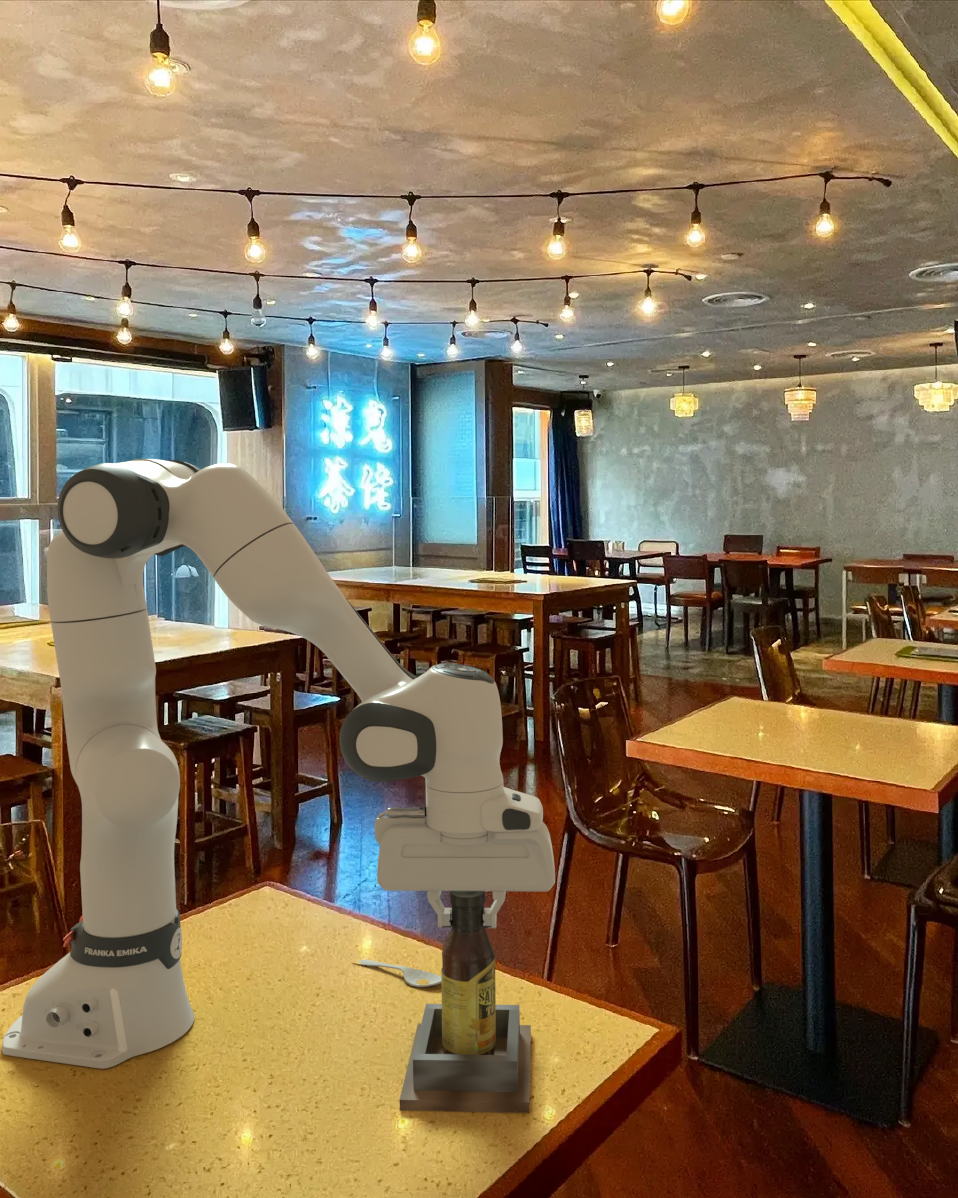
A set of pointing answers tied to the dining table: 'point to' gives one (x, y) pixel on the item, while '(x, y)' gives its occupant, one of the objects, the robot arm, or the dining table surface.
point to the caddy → (469, 1069)
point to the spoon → (408, 973)
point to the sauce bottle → (468, 980)
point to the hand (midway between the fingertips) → (467, 926)
